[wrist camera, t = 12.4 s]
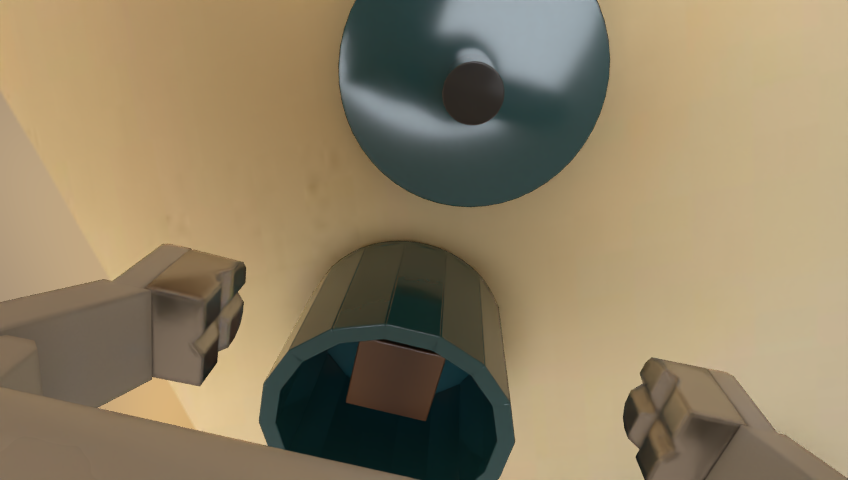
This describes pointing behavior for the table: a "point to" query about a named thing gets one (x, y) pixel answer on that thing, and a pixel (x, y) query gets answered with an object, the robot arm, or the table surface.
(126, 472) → the robot arm
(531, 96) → the lid
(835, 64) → the table surface
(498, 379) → the pot
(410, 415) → the block
